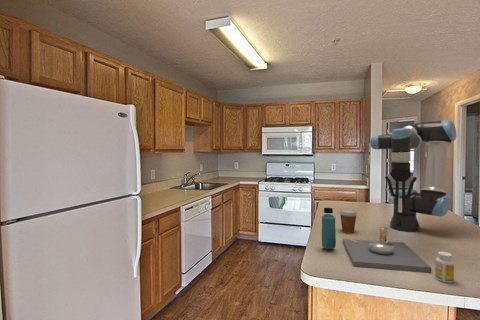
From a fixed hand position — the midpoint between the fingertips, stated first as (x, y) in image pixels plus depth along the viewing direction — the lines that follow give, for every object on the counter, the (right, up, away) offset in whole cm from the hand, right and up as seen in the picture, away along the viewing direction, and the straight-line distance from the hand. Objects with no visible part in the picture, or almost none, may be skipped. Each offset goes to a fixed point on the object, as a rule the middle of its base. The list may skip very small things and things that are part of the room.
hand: (400, 211), depth 123 cm
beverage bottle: (-33, -19, +2) cm, 38 cm away
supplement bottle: (-1, -19, -28) cm, 34 cm away
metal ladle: (-10, -16, -2) cm, 19 cm away
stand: (-12, -19, -6) cm, 23 cm away
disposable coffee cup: (-12, -18, +29) cm, 36 cm away
